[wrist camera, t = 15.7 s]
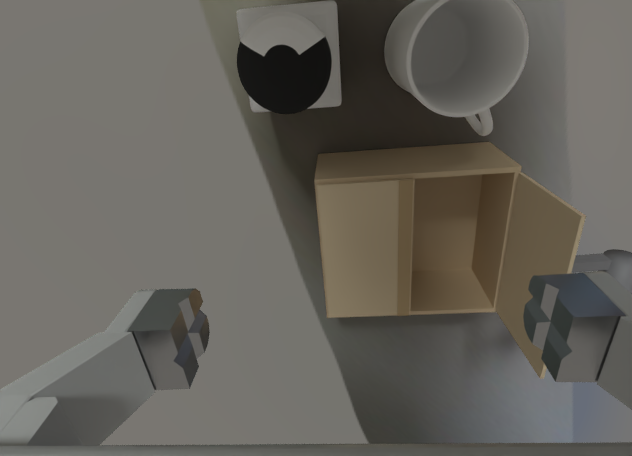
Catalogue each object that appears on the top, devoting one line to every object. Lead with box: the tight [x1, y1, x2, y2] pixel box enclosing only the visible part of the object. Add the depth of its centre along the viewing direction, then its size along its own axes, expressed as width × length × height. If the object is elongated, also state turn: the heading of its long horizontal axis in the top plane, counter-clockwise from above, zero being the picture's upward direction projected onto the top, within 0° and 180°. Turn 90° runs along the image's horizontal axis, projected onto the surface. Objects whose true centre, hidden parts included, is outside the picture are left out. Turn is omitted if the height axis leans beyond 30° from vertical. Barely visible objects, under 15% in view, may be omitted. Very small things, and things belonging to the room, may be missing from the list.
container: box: [237, 0, 342, 114], centre depth 32 cm, size 8×8×13 cm
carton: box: [314, 142, 522, 318], centre depth 41 cm, size 16×18×9 cm
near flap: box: [497, 173, 632, 379], centre depth 33 cm, size 15×9×6 cm
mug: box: [384, 0, 529, 136], centre depth 32 cm, size 12×8×12 cm
